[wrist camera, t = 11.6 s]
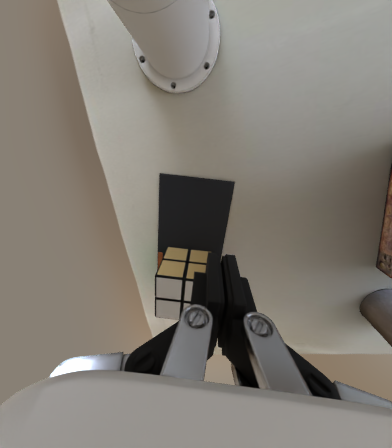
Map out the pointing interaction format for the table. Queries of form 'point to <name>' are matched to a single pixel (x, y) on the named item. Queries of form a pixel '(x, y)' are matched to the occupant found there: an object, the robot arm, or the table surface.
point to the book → (386, 236)
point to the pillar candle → (379, 312)
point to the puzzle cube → (176, 280)
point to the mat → (193, 213)
